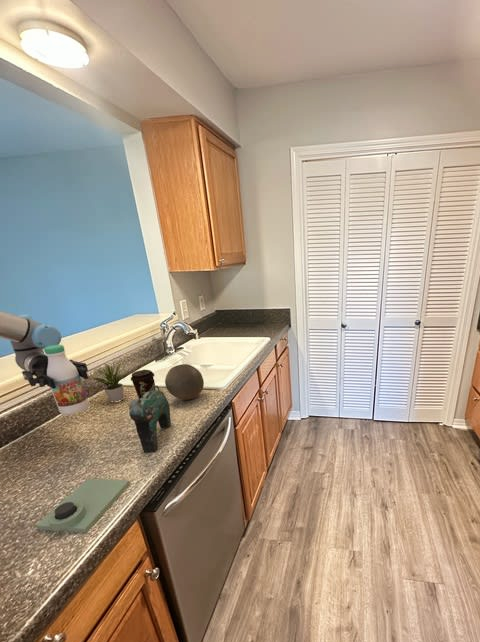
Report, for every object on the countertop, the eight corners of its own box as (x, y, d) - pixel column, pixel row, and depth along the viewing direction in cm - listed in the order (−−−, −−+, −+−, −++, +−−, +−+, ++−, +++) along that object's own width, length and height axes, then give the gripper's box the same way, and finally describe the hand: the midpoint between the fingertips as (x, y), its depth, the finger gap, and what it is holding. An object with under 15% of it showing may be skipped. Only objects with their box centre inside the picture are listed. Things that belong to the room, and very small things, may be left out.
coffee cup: (156, 395, 138) (149, 367, 133) (163, 401, 132) (156, 371, 127) (135, 402, 133) (127, 372, 128) (140, 408, 127) (132, 377, 122)
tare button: (67, 520, 70) (65, 514, 70) (53, 519, 71) (50, 513, 70) (80, 508, 74) (77, 502, 73) (65, 507, 74) (63, 501, 74)
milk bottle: (53, 414, 97) (29, 349, 89) (76, 403, 104) (56, 342, 96) (73, 416, 95) (50, 350, 87) (95, 405, 101) (75, 343, 94)
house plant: (119, 390, 145) (109, 356, 139) (144, 393, 141) (134, 357, 135) (91, 404, 133) (79, 367, 127) (117, 407, 129) (106, 369, 122)
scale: (83, 535, 70) (79, 525, 68) (34, 532, 71) (29, 522, 70) (130, 483, 85) (127, 474, 84) (88, 482, 86) (85, 472, 85)
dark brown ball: (178, 393, 140) (171, 360, 134) (210, 392, 139) (204, 359, 133) (164, 408, 127) (156, 372, 121) (199, 407, 126) (193, 371, 120)
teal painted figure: (156, 455, 97) (140, 394, 89) (134, 456, 96) (117, 395, 89) (176, 422, 115) (165, 369, 107) (158, 423, 115) (145, 371, 107)
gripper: (80, 367, 114) (110, 379, 101) (7, 387, 99) (31, 404, 86) (74, 347, 111) (103, 356, 98) (-3, 364, 96) (20, 378, 83)
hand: (69, 379), depth 92 cm, fingers closed on milk bottle, 8 cm apart
